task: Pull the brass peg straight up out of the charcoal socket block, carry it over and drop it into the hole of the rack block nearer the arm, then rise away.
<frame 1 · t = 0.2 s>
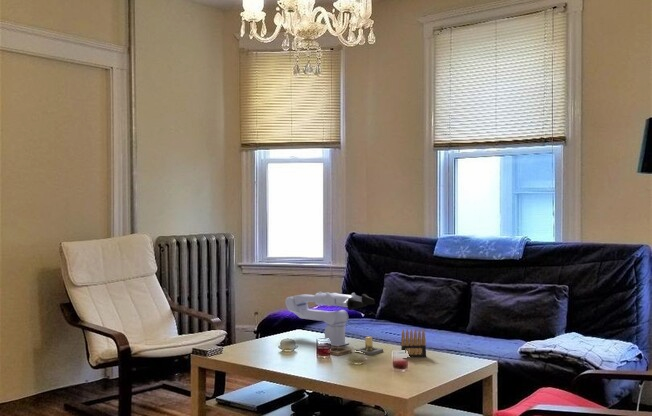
hand: (368, 303, 294), 21 cm above the table, tool horizontal, fingers open, 7 cm apart
brass peg: (368, 352, 291), resting in socket block
ammunition clip: (413, 357, 282), on the table
socket block: (368, 351, 291), on the table
rack block: (337, 352, 291), on the table
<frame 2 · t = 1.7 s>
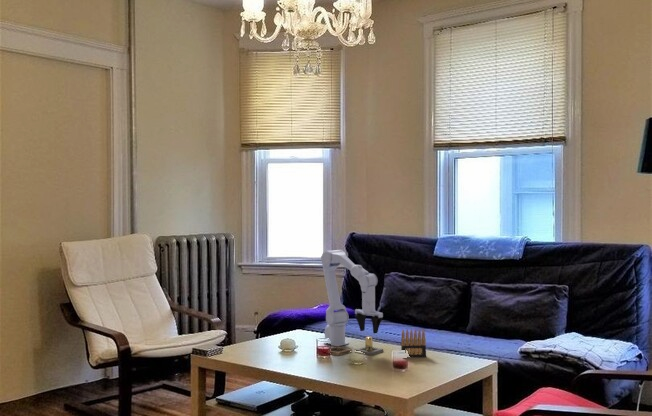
hand: (368, 331, 291), 9 cm above the table, tool pointing down, fingers open, 7 cm apart
nothing on the table moved.
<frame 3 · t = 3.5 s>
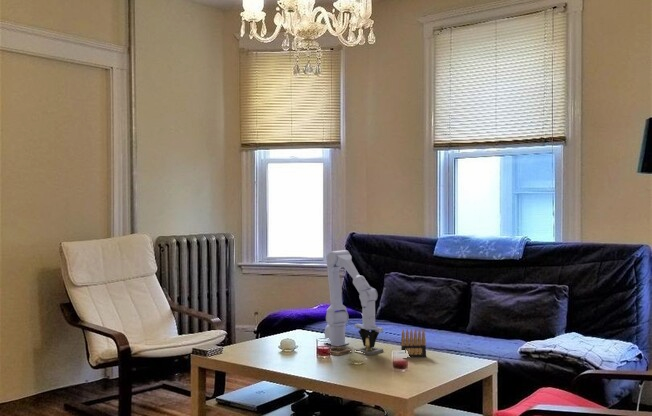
hand: (368, 346, 291), 2 cm above the table, tool pointing down, fingers closed on brass peg, 3 cm apart
brass peg: (368, 351, 291), resting in socket block, touching gripper
everything else where it was.
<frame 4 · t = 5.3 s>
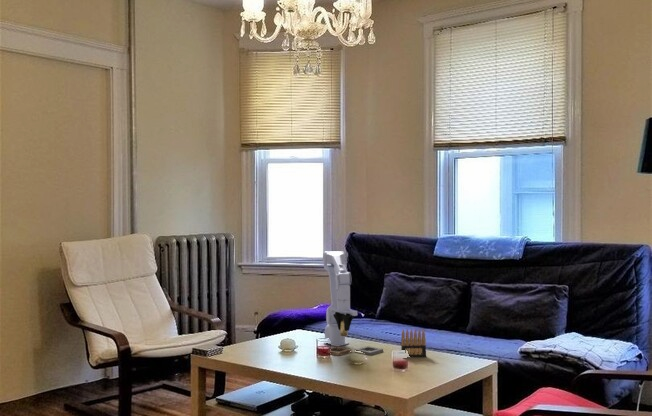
hand: (343, 330, 291), 10 cm above the table, tool pointing down, fingers closed on brass peg, 3 cm apart
brass peg: (344, 335, 291), point 7 cm above the table, touching gripper
everything else where it was.
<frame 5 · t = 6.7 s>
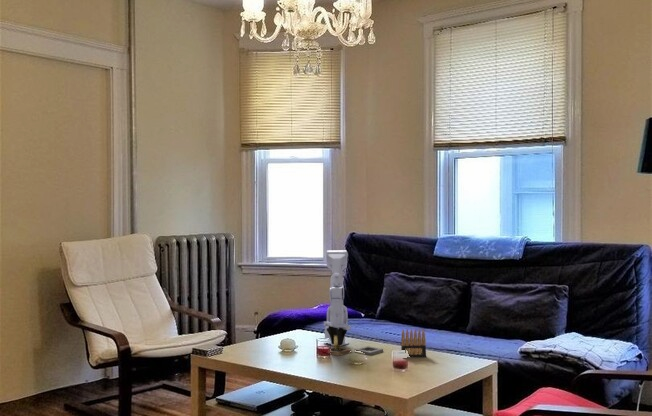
hand: (337, 344, 291), 4 cm above the table, tool pointing down, fingers closed on brass peg, 3 cm apart
brass peg: (337, 349, 291), point 1 cm above the table, touching gripper
everything else where it was.
when the fingers open (3 cm above the table, at t = 7.6 s): brass peg stays where it is, resting in rack block.
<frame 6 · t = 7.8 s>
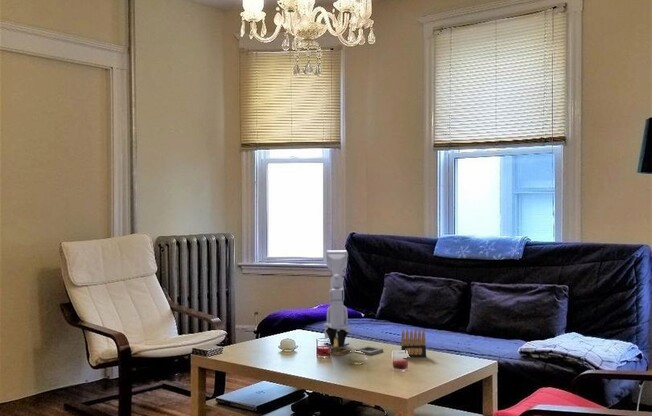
hand: (337, 345, 291), 3 cm above the table, tool pointing down, fingers open, 4 cm apart
brass peg: (337, 352, 291), resting in rack block
everything else where it was.
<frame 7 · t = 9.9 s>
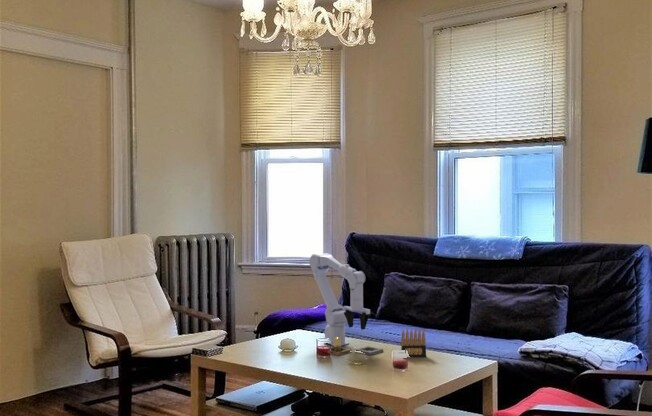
hand: (356, 328, 297), 9 cm above the table, tool pointing down, fingers open, 7 cm apart
nothing on the table moved.
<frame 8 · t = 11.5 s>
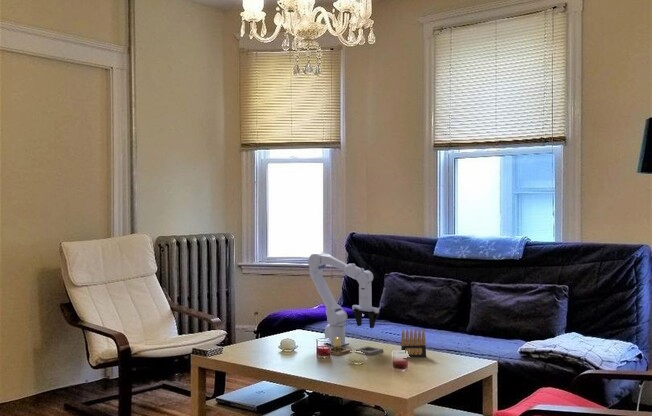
hand: (365, 326, 300), 9 cm above the table, tool pointing down, fingers open, 7 cm apart
nothing on the table moved.
at the end: brass peg 0.1 cm off-centre on the rack block, point 0.0 cm above the rack block's base; brass peg tilted 0°; the gripper is holding nothing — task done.
